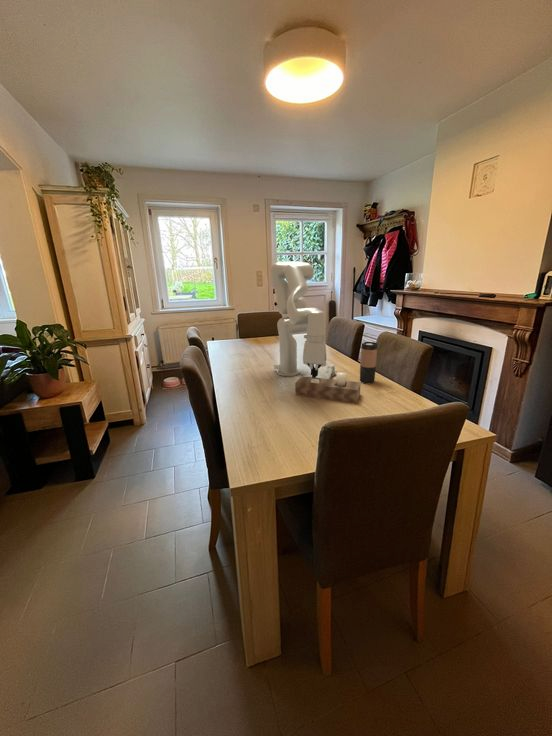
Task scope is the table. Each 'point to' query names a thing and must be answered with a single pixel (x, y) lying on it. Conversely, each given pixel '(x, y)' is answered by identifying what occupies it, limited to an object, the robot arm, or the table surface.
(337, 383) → the peg
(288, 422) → the table surface
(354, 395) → the walnut block
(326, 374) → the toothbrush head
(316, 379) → the peg
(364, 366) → the travel mug
